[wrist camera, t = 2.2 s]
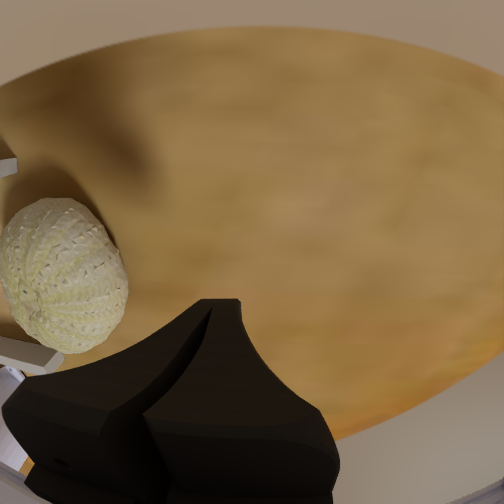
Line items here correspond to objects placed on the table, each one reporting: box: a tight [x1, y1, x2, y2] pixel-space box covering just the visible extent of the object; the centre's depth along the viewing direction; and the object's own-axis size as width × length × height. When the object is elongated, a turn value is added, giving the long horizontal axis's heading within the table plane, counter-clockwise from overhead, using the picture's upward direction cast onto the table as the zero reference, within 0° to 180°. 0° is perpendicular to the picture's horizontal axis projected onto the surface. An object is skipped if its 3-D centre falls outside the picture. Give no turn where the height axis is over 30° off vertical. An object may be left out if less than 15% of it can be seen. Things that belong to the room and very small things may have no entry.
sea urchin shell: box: [0, 197, 129, 354], centre depth 15 cm, size 9×8×8 cm
